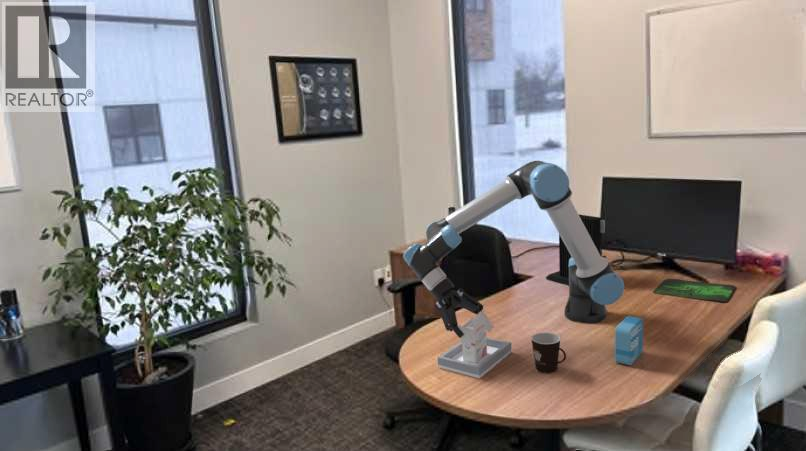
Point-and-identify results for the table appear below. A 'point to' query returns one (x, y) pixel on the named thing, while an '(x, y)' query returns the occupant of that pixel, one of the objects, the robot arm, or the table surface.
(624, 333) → the data package
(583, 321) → the robot arm
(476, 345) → the ink cartridge box
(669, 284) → the mouse mat
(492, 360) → the docking bay
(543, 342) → the coffee mug
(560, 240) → the ribbed black tower
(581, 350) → the table surface
